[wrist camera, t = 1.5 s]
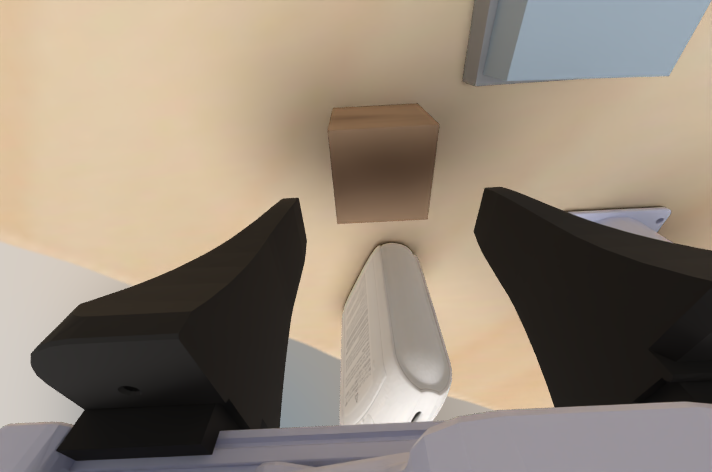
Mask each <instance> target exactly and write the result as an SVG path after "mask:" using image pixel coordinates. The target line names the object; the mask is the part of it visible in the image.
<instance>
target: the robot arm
mask: <svg viewBox="0 0 712 472" xmlns="http://www.w3.org/2000/svg"><path fill="white" fill-rule="evenodd" d="M670 214H671V210H670V209H668V208H666V207H655V208H635V209H615V210H596V211H576V212H565V211H563V210H560V209H557V208H555V207H552V206H550V205H547V204H545V203H543V202H540V201H538V200H535V199H533V198H530V197H528V196H526V195H523V194H521V193H518V192H515V191H512V190H510V189H506V188H503V187H492V188H485V189H484V193H483V197H482V201H481V205H480V209H479V213H478V217H477V220H476V224H475V228H474V234H475V236H476V239H477V242H478V244H479V246H480V249H481V251H482V253H483V255H484V256H485V258H486V260H487V262H488V263H489V265H490V267H491V268H492V270H493V271H494V273H495V275H496V276H497V278H498V280H499V281H500V283H501V285H502V286H503V288H504V289H505V291H506V293H507V294H508V296H509V298H510V300H511V301H512V303H513V305H514V307H515V309H516V311H517V313H518V315H519V318H520V320H521V322H522V324H523V326H524V328H525V331H526V333H527V335H528V338H529V340H530V343H531V345H532V347H533V350H534V352H535V354H536V357H537V360H538V362H539V365H540V368H541V370H542V373H543V376H544V378H545V381H546V383H547V386H548V389H549V392H550V395H551V398H552V401H553V404H554V407H555V408H534V409H512V410H496V411H489V412H483V413H476V414H470V415H463V416H458V417H456V418H453V419H450V420H447V421H424V422H402V423H381V424H359V425H338V426H315V427H294V428H280V416H281V403H282V392H283V381H284V371H285V362H286V353H287V345H288V337H289V330H290V322H291V316H292V311H293V306H294V302H295V298H296V294H297V290H298V286H299V282H300V278H301V274H302V270H303V266H304V262H305V254H306V243H307V239H306V234H305V228H304V223H303V218H302V213H301V208H300V202H299V198H287V199H282V200H280V201H279V202H278V203H276V204H275V205H274V206H273V207H271V208H270V209H269V210H268V211H267V212H265V213H264V214H263V215H262V216H260V217H259V218H258V219H257V220H256V221H254V222H253V223H252V224H250V225H249V226H248V227H246V228H245V229H244V230H242V231H241V232H239V233H238V234H237V235H235V236H234V237H232V238H231V239H229V240H228V241H226V242H225V243H223V244H222V245H220V246H218V247H217V248H215V249H213V250H211V251H210V252H208V253H206V254H204V255H202V256H200V257H198V258H196V259H194V260H192V261H190V262H188V263H186V264H184V265H182V266H180V267H178V268H176V269H174V270H172V271H169V272H167V273H165V274H162V275H160V276H158V277H155V278H153V279H150V280H148V281H145V282H143V283H140V284H138V285H135V286H132V287H130V288H127V289H124V290H121V291H118V292H115V293H112V294H109V295H106V296H103V297H100V298H97V299H94V300H92V301H88V302H85V303H82V304H80V305H78V306H77V307H76V308H75V309H74V310H73V311H72V312H71V313H70V314H69V316H67V317H66V319H64V320H63V322H62V323H61V324H60V325H58V327H57V328H56V329H54V330H53V331H52V332H51V333H50V334H49V335H48V336H47V337H46V338H45V339H44V340H43V341H42V342H41V343H40V344H39V345H38V346H37V348H36V349H35V350H34V351H33V352H32V353H31V366H32V368H33V370H34V371H35V373H36V375H37V376H38V377H40V378H41V379H42V380H43V381H44V382H45V383H47V384H48V385H49V386H51V387H52V388H54V389H55V390H57V391H58V392H59V393H61V394H63V395H64V396H65V397H67V398H68V399H70V400H71V401H73V402H74V403H76V404H77V405H78V406H80V407H82V408H83V409H84V410H85V411H84V412H83V413H82V415H81V416H80V417H79V419H78V420H77V422H76V423H75V425H72V424H67V423H63V422H39V423H16V424H8V425H5V426H3V427H2V428H1V429H0V472H712V251H711V250H705V249H700V248H694V247H690V246H685V245H680V244H675V243H672V242H671V241H669V240H668V239H666V238H665V237H663V236H661V235H660V234H658V233H657V232H658V230H659V229H660V228H661V226H662V225H663V224H664V222H665V221H666V219H667V218H668V217H669V215H670Z"/></svg>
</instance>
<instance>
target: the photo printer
mask: <svg viewBox="0 0 712 472" xmlns="http://www.w3.org/2000/svg"><path fill="white" fill-rule="evenodd" d="M340 381H341V382H340V417H339V418H340V419H339V420H340V425H359V424H381V423H402V422H424V421H433V420H434V418H435V417H436V415H437V414H438V412H439V410H440V409H441V407H442V405H443V403H444V401H445V399H446V397H447V394H448V392H449V389H450V386H451V382H452V368H451V363H450V360H449V357H448V353H447V350H446V346H445V343H444V340H443V337H442V333H441V330H440V327H439V323H438V320H437V317H436V313H435V310H434V307H433V303H432V300H431V297H430V294H429V291H428V287H427V284H426V281H425V278H424V274H423V271H422V268H421V265H420V262H419V259H418V257H417V256H416V255H413V254H412V252H411V250H410V249H409V248H407V247H406V246H404V245H401V244H398V243H386V244H383V245H382V246H380V245H379V246H377V247H376V248H375V250H374V251H373V252H372V254H371V255H370V257H369V258H368V260H367V262H366V264H365V266H364V267H363V269H362V271H361V273H360V275H359V277H358V279H357V281H356V283H355V285H354V287H353V289H352V291H351V293H350V295H349V297H348V299H347V301H346V303H345V306H344V309H343V314H342V339H341V378H340Z"/></svg>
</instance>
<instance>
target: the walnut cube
mask: <svg viewBox="0 0 712 472" xmlns="http://www.w3.org/2000/svg"><path fill="white" fill-rule="evenodd" d="M438 133H439V124H438V123H437V122H436V121H435V120H434V119H433V118H432V117H431V116H430V115H429V114H428V113H427V112H426V111H425V110H424V109H423V108H422V107H420V106H419V105H418V104H417V103H416V104H398V105H381V106H363V107H345V108H333V110H332V114H331V119H330V123H329V127H328V139H329V148H330V158H331V167H332V177H333V186H334V196H335V206H336V215H337V224H345V223H365V222H385V221H404V220H424V219H428V212H429V204H430V196H431V188H432V180H433V172H434V165H435V157H436V149H437V141H438Z"/></svg>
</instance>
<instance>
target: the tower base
mask: <svg viewBox="0 0 712 472" xmlns="http://www.w3.org/2000/svg"><path fill="white" fill-rule="evenodd" d="M498 2H499V0H475V1H474V7H473V14H472V21H471V27H470V34H469V41H468V47H467V54H466V61H465V67H464V74H463V82H465V83H468V84H471V85H473V86H485V85H500V84H515V83H529V82H544V81H558V80H573V79H556V80H524V81H505V80H501V79H497V78H493V77H490V76H486V75H483V72H484V67H485V62H486V58H487V53H488V48H489V44H490V39H491V35H492V30H493V25H494V21H495V16H496V11H497V7H498Z"/></svg>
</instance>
